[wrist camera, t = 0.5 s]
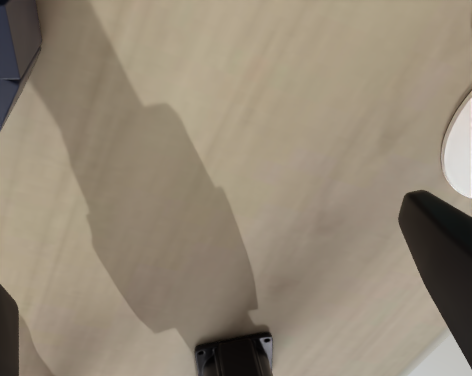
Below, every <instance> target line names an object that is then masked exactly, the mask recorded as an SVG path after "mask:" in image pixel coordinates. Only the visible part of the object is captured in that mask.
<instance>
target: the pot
mask: <svg viewBox="0 0 472 376" xmlns="http://www.w3.org/2000/svg"><path fill="white" fill-rule="evenodd" d="M41 43H42V36H41V31H40V25H39V19H38V13H37V7H36V1H35V0H0V131H1V130H2V128H3V126H4V124H5V122H6V120H7V118H8V117H9V115H10V113H11V111H12V109H13V107H14V106H15V104H16V102H17V100H18V98H19V96H20V95H21V93H22V91H23V88H24V86H25V84H26V82H27V79H28V77H29V75H30V73H31V71H32V68H33V66H34V64H35V62H36V59H37V57H38V55H39V53H40V51H41V47H40V45H41Z"/></svg>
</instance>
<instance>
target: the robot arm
mask: <svg viewBox="0 0 472 376" xmlns="http://www.w3.org/2000/svg"><path fill="white" fill-rule="evenodd" d="M398 220H399V225H400V228H401V231H402V233H403V235H404V238H405V240H406V242H407V245H408V247H409V250H410V252H411V254H412V257H413V259H414V261H415V264H416V266H417V269H418V271H419V273H420V276H421V278H422V280H423V282H424V284H425V286H426V288H427V290H428V292H429V294H430V295H431V297H432V299H433V301H434V303H435V304H436V306H437V308H438V310H439V312H440V313H441V315H442V317H443V319H444V320H445V322H446V324H447V326H448V328H449V329H450V331H451V333H452V335H453V336H454V338H455V340H456V342H457V343H458V345H459V347H460V349H461V350H462V353H463V354H464V356H465V358H466V359H467V361H468V363H469V365H470V367H471V369H472V217H470V216H469V215H467V214H465V213H464V212H462V211H460V210H458V209H457V208H455V207H453V206H452V205H450V204H448V203H446V202H445V201H443V200H441V199H440V198H438V197H436V196H434V195H433V194H431V193H429V192H427V191H425V190H418V191H413V192H409V193H407V194H406V195H405V196H404V198H403V202H402V206H401V209H400V213H399V217H398ZM272 349H273V338H272V335H271V333H261V334H256V335H251V336H246V337H240V338H235V339H230V340H225V341H220V342H214V343H209V344H204V345H199V346H197V347H196V348H195V357H196V363H197V370H198V376H273V374H272ZM0 376H19V312H18V306H17V304H16V302H15V300H14V299H13V298H12V297H11V296H10V295H9V293H8V292H7V291H6V290H5V289H4V288H3V286H2V285H1V284H0Z"/></svg>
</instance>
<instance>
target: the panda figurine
mask: <svg viewBox="0 0 472 376" xmlns="http://www.w3.org/2000/svg"><path fill="white" fill-rule="evenodd" d="M441 164H442V170H443V173H444V176H445V178H446V180H447V181H448V183H449V184H450V185H451V186H452V187H453V188H454V189H455V190H456V191H457V192H458V193H460V194H462V195H463V196H466V197H468V198H471V199H472V91H471V92H470V94H469V95H468V96H467V97H466V98H465V100H464V101H463V102H462V104H461V105H460V107H459V108H458V110H457V111H456V113H455V115H454V116H453V118H452V120H451V122H450V124H449V127H448V129H447V131H446V134H445V137H444V141H443V145H442V152H441Z"/></svg>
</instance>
